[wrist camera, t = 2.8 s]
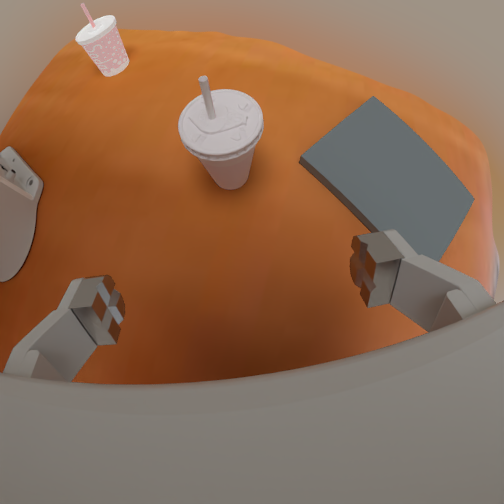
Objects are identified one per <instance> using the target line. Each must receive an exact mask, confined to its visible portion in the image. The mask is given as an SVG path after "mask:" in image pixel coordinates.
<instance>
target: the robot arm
mask: <svg viewBox="0 0 504 504" xmlns="http://www.w3.org/2000/svg"><path fill="white" fill-rule="evenodd" d="M42 189H43V181H42V180H41V179H40V177H39V176H38V175H37V174H36V173H35V172H34V171H33V170H32V169H31V168H30V167H29V165H28V164H27V163H26V162H25V161H24V160H23V159H22V157H21V156H20V155H19V154H18V153H17V152H16V151H15V149H14V148H12V147H10V146H9V147H7V148H5V149H4V150H3V151H2V152H0V282H4V281H7V280H9V279H11V278H12V277H13V276H14V275H15V274H16V273H17V272H18V271H19V269H20V268H21V266H22V265H23V263H24V261H25V259H26V257H27V254H28V252H29V249H30V246H31V243H32V239H33V235H34V230H35V223H36V210H37V204H38V201H39V198H40V195H41V192H42ZM351 247H352V249H353V251H354V254H353V255H352V256H351V258H350V274H351V277H352V280H353V282H354V284H355V285H356V286H358V287H360V288H361V291H360V295H361V297H362V299H363V301H364V302H365V304H366V306H367V308H370V307H374V306H379V305H383V304H388V303H390V305H392V306H393V307H395V308H396V309H397V310H399V311H400V312H401V313H403V314H404V315H406V316H407V317H408V318H410V319H411V320H413V321H414V322H415V323H417V324H418V325H419V326H421V327H422V328H423V329H425V330H426V331H428V332H429V333H426V334H423V335H421V336H418V337H415V338H412V339H409V340H406V341H403V342H400V343H397V344H393V345H390V346H387V347H384V348H380V349H377V350H373V351H370V352H366V353H362V354H359V355H355V356H351V357H347V358H343V359H339V360H335V361H331V362H326V363H322V364H317V365H313V366H308V367H303V368H298V369H292V370H287V371H281V372H275V373H269V374H263V375H256V376H249V377H241V378H233V379H224V380H214V381H203V382H190V383H173V384H93V383H77V382H71V381H72V380H73V378H74V377H75V376H76V374H77V373H78V372H79V370H80V369H81V368H82V366H83V365H84V363H85V362H86V361H87V359H88V358H89V357H90V355H91V354H92V353H93V352H94V350H95V349H96V348H97V345H110V344H117V341H118V338H119V334H120V330H121V329H120V327H119V325H118V324H119V323H120V322H121V321H122V320H123V319H124V316H125V303H124V300H123V298H122V296H121V294H120V293H119V292H118V291H116V290H115V289H114V287H115V282H114V280H113V279H112V277H111V276H109V275H100V276H93V277H86V278H79V279H74V280H72V281H71V283H70V285H69V287H68V289H67V291H66V293H65V294H64V296H63V298H62V300H61V302H60V304H59V306H58V308H57V310H54V311H52V312H51V313H50V314H49V315H48V316H47V317H46V318H45V319H44V320H42V321H41V322H40V323H39V324H38V325H37V326H36V327H35V328H34V329H33V330H32V331H30V332H29V333H28V334H27V335H26V336H25V337H24V338H23V339H22V340H21V341H20V342H19V343H18V344H17V345H16V346H15V347H14V348H13V350H12V352H11V355H10V357H9V359H8V362H7V364H6V366H5V369H4V371H3V373H0V504H504V301H502V302H500V303H497V304H496V302H495V301H494V300H493V299H492V297H491V296H490V295H489V294H488V292H487V291H486V290H485V289H484V287H483V286H482V285H481V284H480V283H479V281H478V280H476V279H474V278H471V277H469V276H467V275H465V274H463V273H461V272H459V271H457V270H455V269H453V268H451V267H448V266H446V265H444V264H442V263H440V262H438V261H435V260H433V259H431V258H429V257H426V256H424V255H418V254H417V253H416V252H415V251H414V250H413V248H412V247H411V246H410V245H409V244H408V243H407V242H406V241H405V239H404V238H403V237H402V236H401V235H400V234H399V233H398V232H397V231H396V230H394V229H389V230H384V231H380V232H375V233H369V234H363V235H358V236H353V239H352V244H351Z"/></svg>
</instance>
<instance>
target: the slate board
mask: <svg viewBox="0 0 504 504" xmlns="http://www.w3.org/2000/svg"><path fill="white" fill-rule="evenodd" d="M299 163H300V164H301V165H302V166H303V167H305V168H306V169H307V170H308V171H309V172H310V173H311V174H312V175H314V176H315V177H316V178H317V179H318V180H319V181H320V182H321V183H322V184H323V185H324V186H325V187H326V188H328V189H329V190H330V191H331V192H332V193H333V194H334V195H335V196H336V197H337V198H338V199H339V200H340V201H341V202H342V203H343V204H344V205H345V206H346V207H347V208H348V209H349V210H350V211H351V212H352V213H353V214H354V215H355V216H356V217H357V218H358V219H359V220H360V221H361V222H362V223H363V224H364V225H365V226H366V227H367V228H368V229H369V230H370V231H371V232H372V233H375V232H380V231H384V230H389V229H394V230H396V231H397V232H398V233H399V234H400V235H401V236H402V237H403V238H404V239H405V241H406V242H407V243H408V244H409V245H410V246H411V247H412V248H413V250H414V251H415V252H416V253H417V254H418V255H424V256H426V257H429V258H431V259H433V260H435V261H438V262H439V260H440V259H441V257H442V255H443V254H444V252H445V251H446V249H447V247H448V246H449V244H450V243H451V241H452V239H453V238H454V236H455V234H456V232H457V231H458V229H459V227H460V225H461V224H462V222H463V220H464V218H465V216H466V215H467V213H468V211H469V209H470V207H471V205H472V203H473V201H474V198H473V196H472V195H471V194H470V192H469V191H468V190H467V189H466V187H465V186H464V185H463V184H462V182H461V181H460V180H459V179H458V178H457V176H456V175H455V174H454V173H453V172H452V171H451V169H450V168H449V167H448V166H447V165H446V164H445V163H444V162H443V160H442V159H441V158H440V157H439V156H438V155H437V154H436V153H435V152H434V151H433V150H432V149H431V148H430V147H429V146H428V145H427V144H426V143H425V142H424V141H423V140H422V139H421V138H420V137H419V136H418V135H417V134H416V133H415V132H414V131H413V130H412V129H411V128H410V127H409V126H408V125H407V124H406V123H405V122H404V121H402V120H401V119H400V118H399V117H398V116H397V115H396V114H395V113H393V112H392V111H391V110H390V109H389V108H388V107H386V106H385V105H384V104H383V103H382V102H380V101H379V100H378V99H377V98H375V97H374V96H373V97H371V98H370V99H369V100H368V101H366V102H365V103H364V104H363V105H361V106H360V107H359V108H358V109H356V110H355V111H354V112H353V113H351V114H350V115H349V116H348V117H347V118H345V119H344V120H343V121H342V122H340V123H339V124H338V125H337V126H336V127H334V128H333V129H332V130H331V131H330V132H328V133H327V134H326V135H325V136H324V137H323V138H321V139H320V140H319V141H318V142H317V143H315V144H314V145H313V146H312V147H311V148H310V149H308V150H307V151H306V152H305V153H304V154H303V155H301V158H300V161H299Z"/></svg>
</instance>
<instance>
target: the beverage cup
mask: <svg viewBox="0 0 504 504" xmlns="http://www.w3.org/2000/svg"><path fill="white" fill-rule="evenodd" d="M80 5H81V7H82V9H83V11H84V12H85V14H86V16H87V18H88V20H89V22H90V23H89V24H88V25H87V26H85V27H84V28H83V29H82V30H81V31H80V32H79V33H78V34H77V36H76V42H78V44H80V45H82V47H83V48H84V49H85V51H86V52H87V53H88V55H89V56H90V57H91V59H92V60H93V61H94V63H95V64H96V65H97V67H98V68H99V69H100V71H101V72H102V73H103V75H105V76H113V75H116V74H118V73H120V72H121V71H122V70H124V69H125V68H126V67H127V65H128V64H129V58H128V56H127V53H126V51H125V48H124V46H123V43H122V40H121V38H120V35H119V32H118V30H117V27H116V20H115V17H114V16H112V15H108V16H104V17H101V18H98V19H96V20H94V21H93V20H92V18H91V16H90V14H89V12H88V10H87V8H86V6H85V5H84V3H82V4H80Z"/></svg>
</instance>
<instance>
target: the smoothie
mask: <svg viewBox="0 0 504 504" xmlns="http://www.w3.org/2000/svg"><path fill="white" fill-rule="evenodd" d="M199 83H200V87H201V91H202V95H200V96H198V97H196V98H195V99H193V100H192V101H191V102H190V103H189V104H188V105H187V106H186V107H185V108H184V110H183V111H182V113H181V115H180V118H179V123H178V130H179V134H180V137H181V141H182V142H183V144H184V146H185V148H186V149H187V150H188V151H189V152H191V153H192V154H193V155H195V156H197V157H198V159H199V160H200V162H201V163H202V164H203V166H204V167H205V168H206V170H207V171H208V173H209V174H210V175H211V177H212V178H213V180H214V181H215V182H216V184H217V185H218V186H219V187H221V188H223V189H227V190H233V189H237V188H239V187H241V186H242V185H244V184H245V182H246V181H247V179H248V176H249V172H250V167H251V163H252V158H253V154H254V149H255V145H256V144H257V142H258V141H259V139H260V138H261V135H262V132H263V129H264V126H263V115H262V111H261V108H260V106H259V105H258V103H257V102H256V101H255V100H254V99H253V98H252V97H250V96H249V95H247V94H245V93H243V92H240V91H236V90H230V89H220V90H214V91H210V87H209V83H208V78H207V76H201V77H200V78H199Z"/></svg>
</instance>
